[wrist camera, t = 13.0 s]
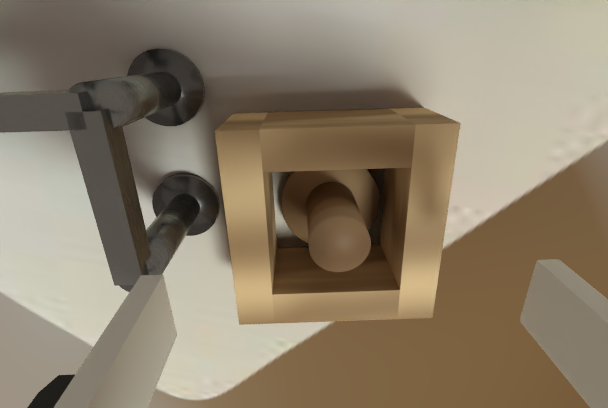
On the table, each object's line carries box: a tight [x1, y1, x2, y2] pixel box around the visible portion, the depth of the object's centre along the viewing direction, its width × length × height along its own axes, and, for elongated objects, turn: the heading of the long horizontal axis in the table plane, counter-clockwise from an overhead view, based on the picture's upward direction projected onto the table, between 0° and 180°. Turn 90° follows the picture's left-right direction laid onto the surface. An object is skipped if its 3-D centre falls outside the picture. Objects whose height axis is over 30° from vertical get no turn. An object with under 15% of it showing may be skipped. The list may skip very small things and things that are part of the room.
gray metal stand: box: [0, 49, 220, 292], centre depth 17 cm, size 11×16×9 cm
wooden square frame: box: [215, 107, 460, 325], centre depth 20 cm, size 11×11×5 cm
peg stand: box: [282, 169, 380, 272], centre depth 20 cm, size 6×6×6 cm
